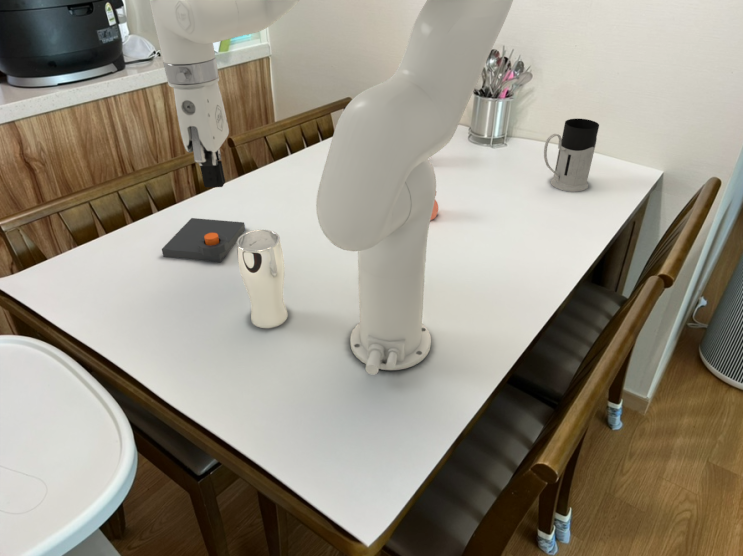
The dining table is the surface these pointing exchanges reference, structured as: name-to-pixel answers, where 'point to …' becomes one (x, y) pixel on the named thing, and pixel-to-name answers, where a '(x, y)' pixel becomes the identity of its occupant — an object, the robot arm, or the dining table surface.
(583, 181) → the glass holder
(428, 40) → the robot arm
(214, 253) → the dark grey flat block
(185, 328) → the dining table surface
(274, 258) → the beer glass
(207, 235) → the button
